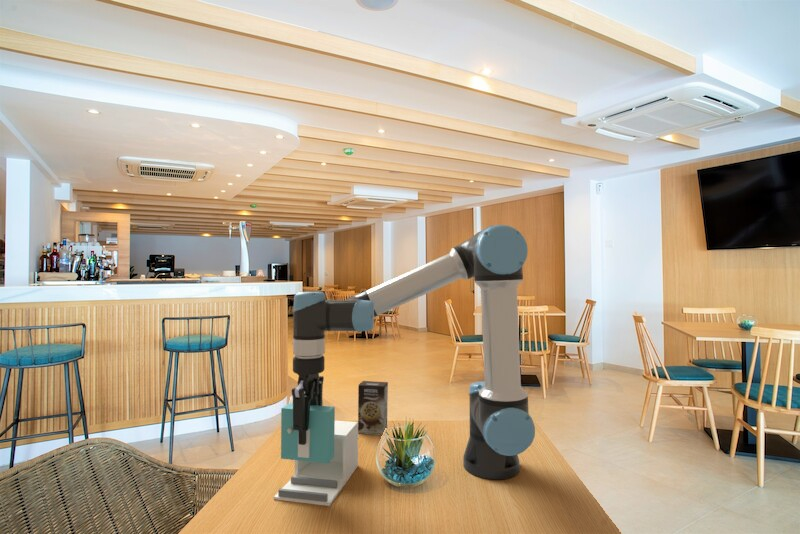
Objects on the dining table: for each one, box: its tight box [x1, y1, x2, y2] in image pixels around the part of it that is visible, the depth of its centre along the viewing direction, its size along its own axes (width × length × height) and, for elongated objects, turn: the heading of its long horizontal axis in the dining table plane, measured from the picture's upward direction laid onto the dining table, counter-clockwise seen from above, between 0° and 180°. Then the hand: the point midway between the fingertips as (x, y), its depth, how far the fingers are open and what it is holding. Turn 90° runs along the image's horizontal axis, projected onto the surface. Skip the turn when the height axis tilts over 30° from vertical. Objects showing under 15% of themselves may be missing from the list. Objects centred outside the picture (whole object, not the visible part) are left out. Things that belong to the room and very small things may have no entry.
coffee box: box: [357, 380, 389, 436], centre depth 145 cm, size 9×6×16 cm
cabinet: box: [273, 419, 359, 507], centre depth 110 cm, size 14×21×12 cm, turn 168°
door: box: [280, 402, 336, 463], centre depth 103 cm, size 12×5×12 cm, turn 78°
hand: (308, 452), depth 104 cm, fingers closed on door, 4 cm apart
